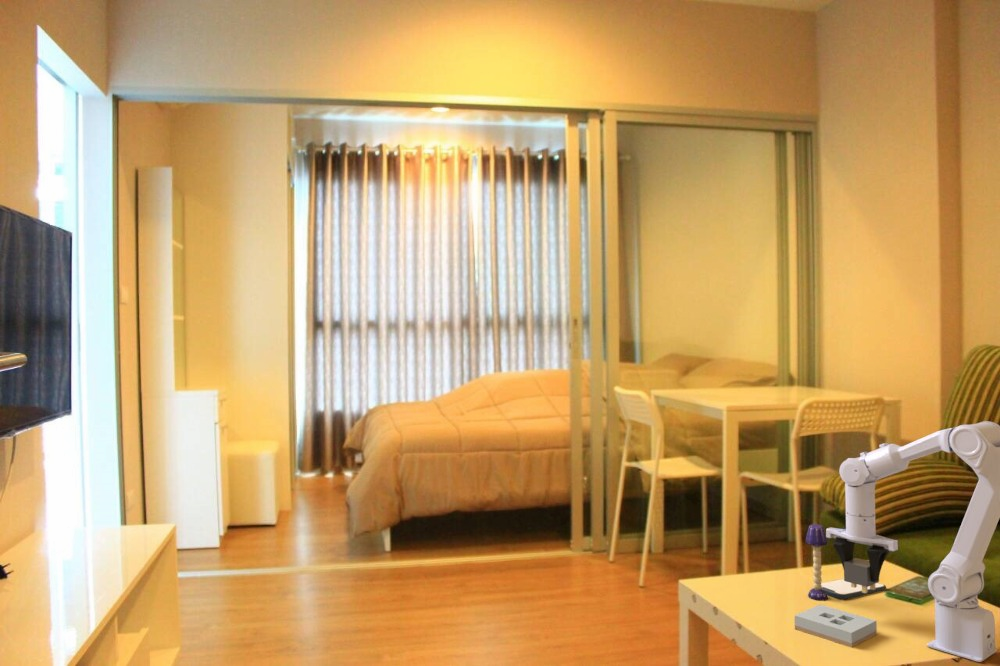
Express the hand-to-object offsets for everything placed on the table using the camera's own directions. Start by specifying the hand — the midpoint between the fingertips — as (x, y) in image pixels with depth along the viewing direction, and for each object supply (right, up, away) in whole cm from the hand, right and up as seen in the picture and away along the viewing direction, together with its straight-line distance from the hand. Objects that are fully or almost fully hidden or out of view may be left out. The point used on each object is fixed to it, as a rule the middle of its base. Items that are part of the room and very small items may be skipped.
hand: (861, 577), depth 161 cm
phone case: (+6, -10, +19) cm, 22 cm away
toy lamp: (-4, -9, +13) cm, 17 cm away
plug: (0, -2, 0) cm, 2 cm away
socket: (-9, -9, -7) cm, 14 cm away
